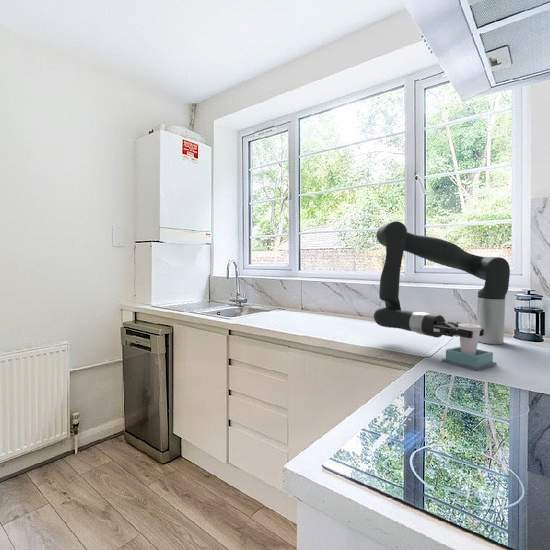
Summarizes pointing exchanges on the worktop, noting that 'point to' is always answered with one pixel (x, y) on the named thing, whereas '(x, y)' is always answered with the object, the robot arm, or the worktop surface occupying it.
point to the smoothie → (469, 343)
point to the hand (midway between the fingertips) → (477, 333)
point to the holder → (470, 359)
